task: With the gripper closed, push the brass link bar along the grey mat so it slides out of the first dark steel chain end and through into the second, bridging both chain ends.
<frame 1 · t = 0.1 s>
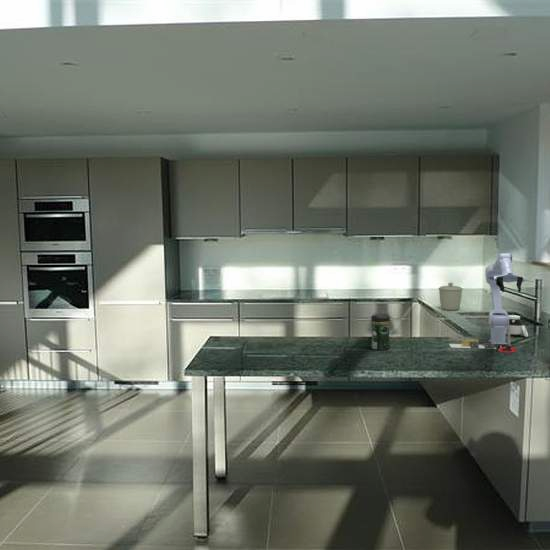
hand: (511, 290, 280), 32 cm above the counter, tool tilted 50°, fingers open, 7 cm apart
tow hook: (506, 352, 290), on the counter
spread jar: (517, 336, 329), on the counter
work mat: (472, 346, 301), on the counter
chain end a: (473, 346, 300), resting on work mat
canister: (450, 310, 432), on the counter
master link: (469, 346, 301), resting on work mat
coffee jar: (380, 349, 298), on the counter
chain end b: (487, 346, 299), resting on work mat
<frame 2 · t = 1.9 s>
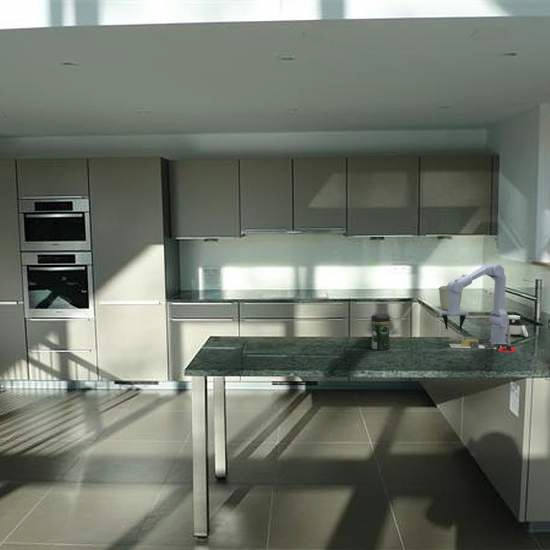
hand: (453, 329, 301), 9 cm above the counter, tool pointing down, fingers open, 6 cm apart
nothing on the counter moved.
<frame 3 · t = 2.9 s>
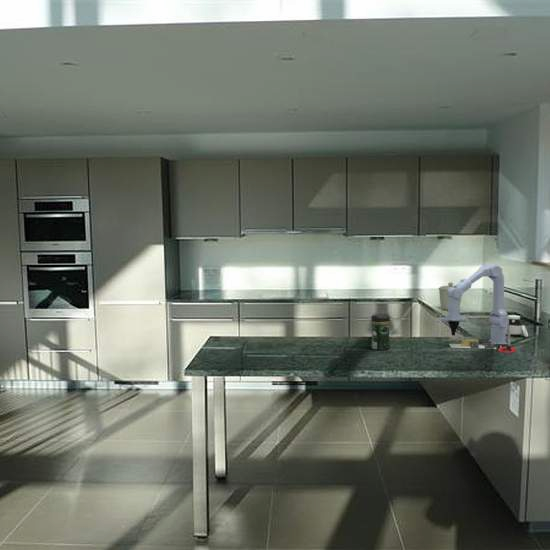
hand: (453, 335, 302), 6 cm above the counter, tool pointing down, fingers closed
nothing on the counter moved.
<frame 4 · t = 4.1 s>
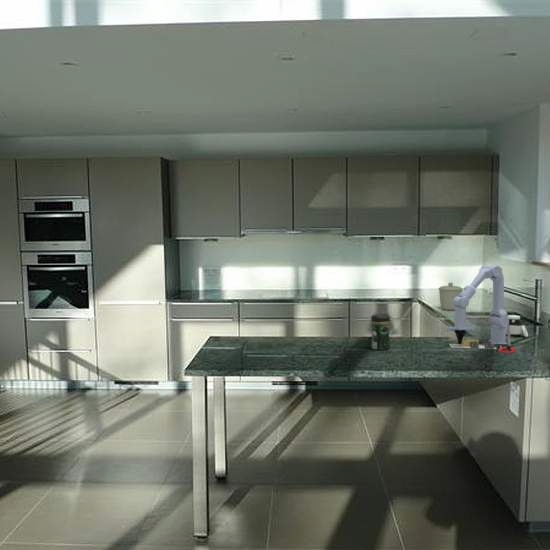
hand: (459, 344, 301), 1 cm above the counter, tool pointing down, fingers closed
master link: (470, 346, 301), resting on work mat, touching gripper
everything else where it was.
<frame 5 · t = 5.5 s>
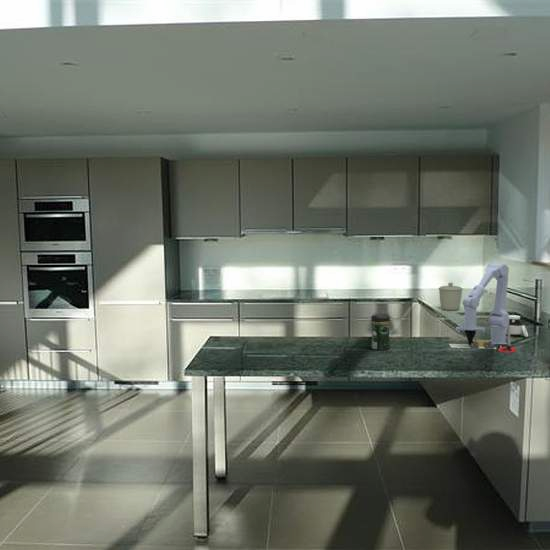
hand: (469, 344, 300), 1 cm above the counter, tool pointing down, fingers closed
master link: (480, 346, 300), resting on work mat, touching gripper
everything else where it was.
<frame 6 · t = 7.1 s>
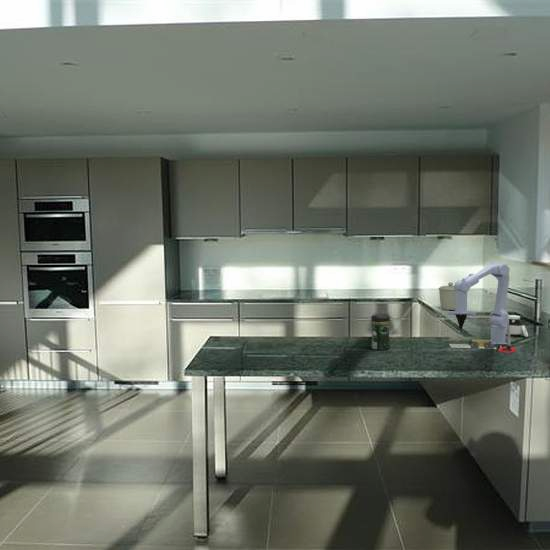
hand: (460, 328, 300), 10 cm above the counter, tool pointing down, fingers closed
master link: (480, 346, 300), resting on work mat
everything else where it was.
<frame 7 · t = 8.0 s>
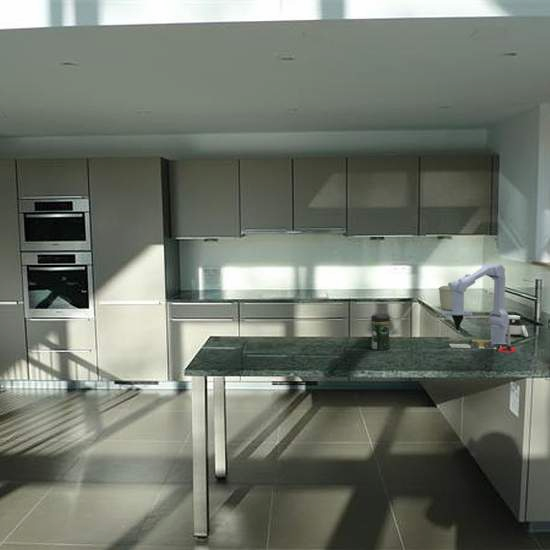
hand: (457, 329, 298), 10 cm above the counter, tool pointing down, fingers closed
nothing on the counter moved.
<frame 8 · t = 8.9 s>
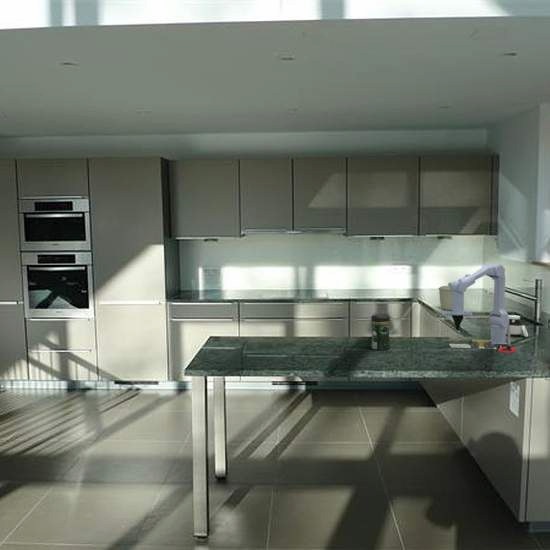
hand: (457, 329, 298), 10 cm above the counter, tool pointing down, fingers closed
nothing on the counter moved.
at the end: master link 0.5 cm from the target spot, resting on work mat; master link tilted 0°; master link moved 5.4 cm from its start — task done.
